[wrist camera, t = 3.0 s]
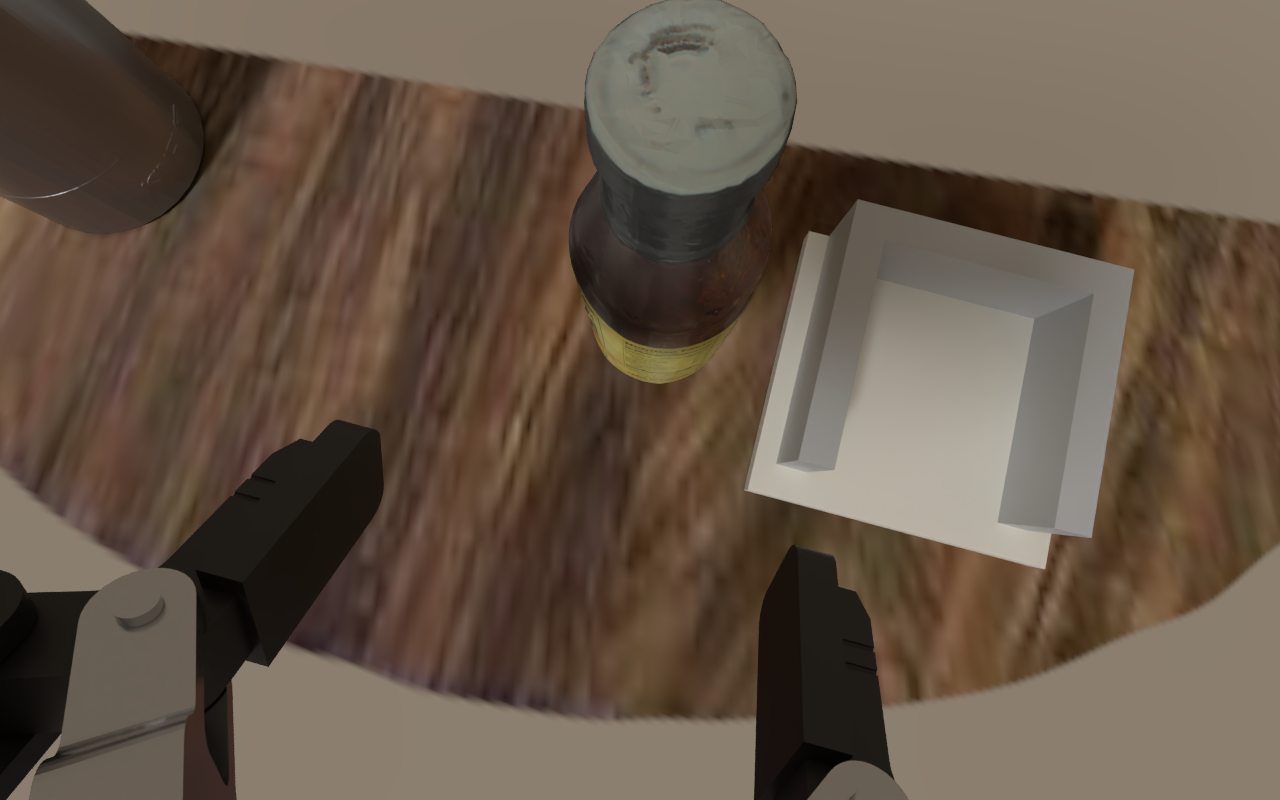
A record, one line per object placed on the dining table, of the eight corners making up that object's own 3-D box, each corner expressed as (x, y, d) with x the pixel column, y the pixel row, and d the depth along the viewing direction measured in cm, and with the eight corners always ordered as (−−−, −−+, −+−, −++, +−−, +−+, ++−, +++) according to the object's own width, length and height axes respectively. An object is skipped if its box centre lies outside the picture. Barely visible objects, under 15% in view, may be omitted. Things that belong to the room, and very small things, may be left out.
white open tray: (743, 490, 30) (765, 490, 25) (803, 238, 32) (835, 193, 27) (1031, 566, 30) (1110, 581, 25) (1075, 308, 32) (1157, 275, 27)
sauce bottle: (622, 248, 32) (607, -137, 12) (738, 293, 32) (912, -27, 12) (572, 367, 31) (470, 157, 11) (691, 414, 31) (796, 282, 11)
